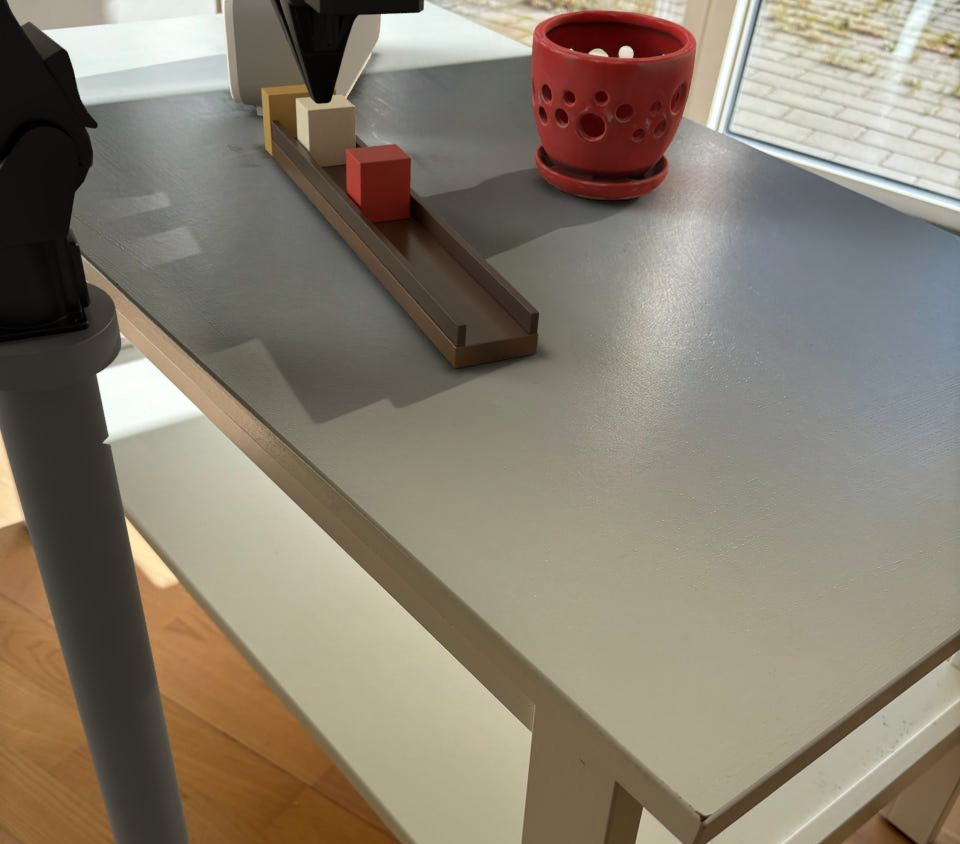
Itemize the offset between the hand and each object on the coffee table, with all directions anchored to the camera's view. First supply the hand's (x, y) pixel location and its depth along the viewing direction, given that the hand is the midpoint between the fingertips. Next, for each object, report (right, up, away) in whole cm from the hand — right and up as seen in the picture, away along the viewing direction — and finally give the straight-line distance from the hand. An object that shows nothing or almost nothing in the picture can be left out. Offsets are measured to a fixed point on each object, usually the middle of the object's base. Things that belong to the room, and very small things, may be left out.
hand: (321, 101), depth 71 cm
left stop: (-5, +8, +25) cm, 27 cm away
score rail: (+3, -5, +12) cm, 14 cm away
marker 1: (-2, +5, +20) cm, 21 cm away
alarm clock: (-6, +21, +39) cm, 44 cm away
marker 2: (+3, -2, +13) cm, 13 cm away
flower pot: (+20, +5, +24) cm, 32 cm away
